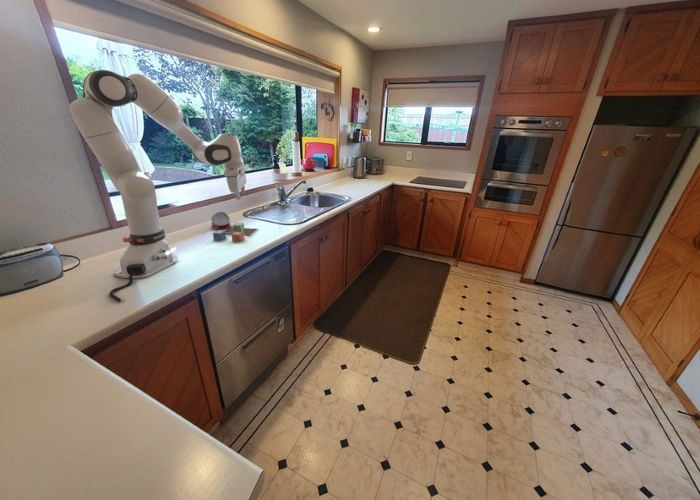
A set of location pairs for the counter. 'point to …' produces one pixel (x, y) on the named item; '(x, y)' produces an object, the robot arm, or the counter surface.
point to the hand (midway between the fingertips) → (241, 196)
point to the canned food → (220, 221)
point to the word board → (246, 233)
